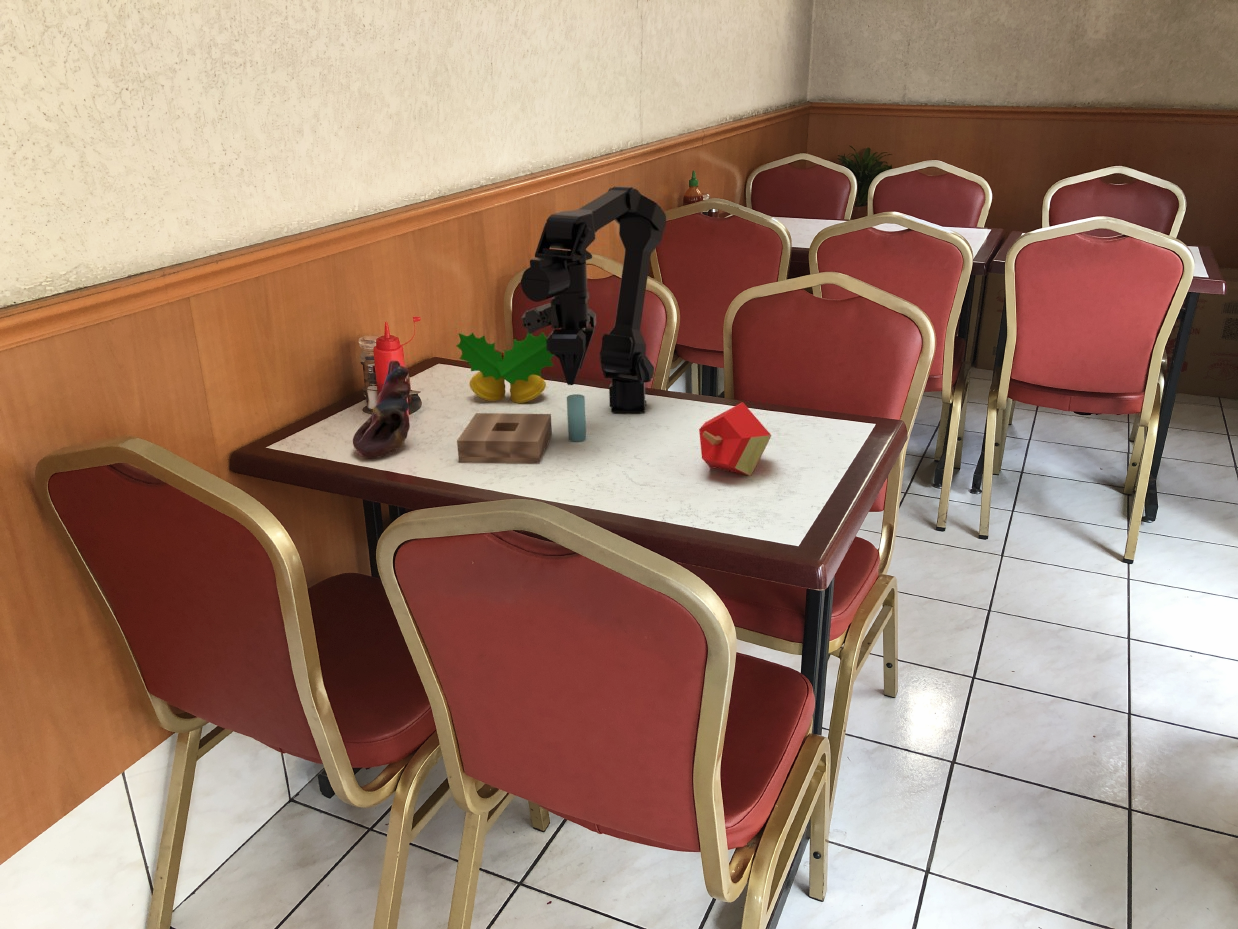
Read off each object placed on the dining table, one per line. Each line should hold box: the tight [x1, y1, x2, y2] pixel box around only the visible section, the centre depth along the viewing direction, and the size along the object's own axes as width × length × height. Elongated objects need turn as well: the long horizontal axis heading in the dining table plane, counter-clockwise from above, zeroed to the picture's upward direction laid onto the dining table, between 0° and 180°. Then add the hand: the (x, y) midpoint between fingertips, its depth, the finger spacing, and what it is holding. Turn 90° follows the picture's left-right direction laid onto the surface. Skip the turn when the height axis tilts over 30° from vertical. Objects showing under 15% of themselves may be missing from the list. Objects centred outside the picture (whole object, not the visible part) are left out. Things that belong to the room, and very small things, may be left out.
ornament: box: [455, 331, 556, 404], centre depth 195 cm, size 21×8×15 cm, turn 84°
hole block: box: [456, 412, 553, 465], centre depth 172 cm, size 14×14×4 cm
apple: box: [698, 401, 772, 477], centre depth 159 cm, size 12×12×15 cm
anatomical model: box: [352, 360, 411, 459], centre depth 171 cm, size 9×13×15 cm
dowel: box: [566, 393, 587, 443], centre depth 175 cm, size 3×3×8 cm
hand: (574, 376), depth 172 cm, fingers open, 9 cm apart
